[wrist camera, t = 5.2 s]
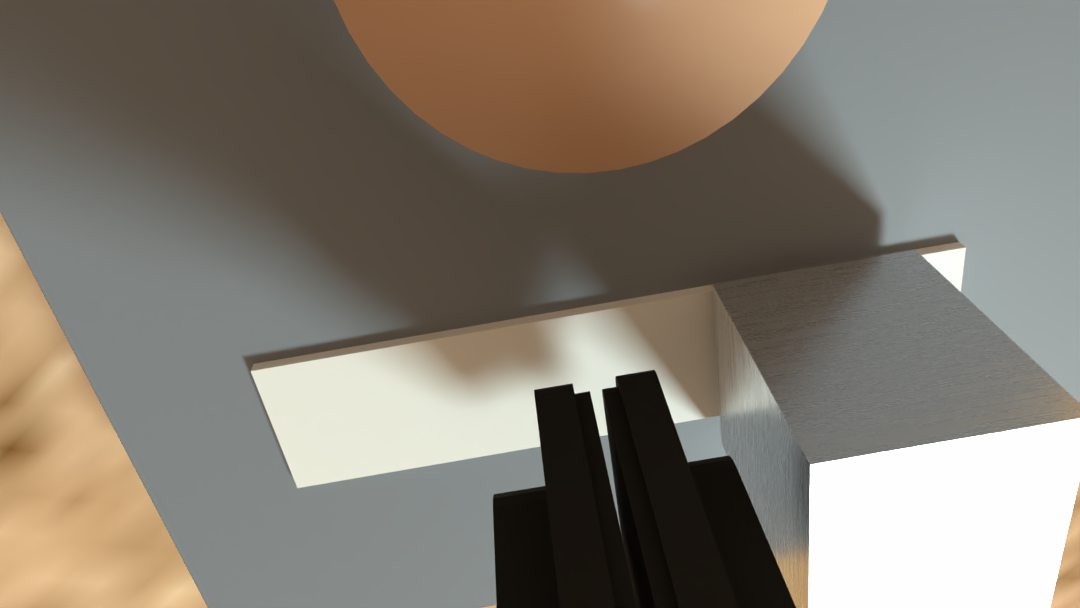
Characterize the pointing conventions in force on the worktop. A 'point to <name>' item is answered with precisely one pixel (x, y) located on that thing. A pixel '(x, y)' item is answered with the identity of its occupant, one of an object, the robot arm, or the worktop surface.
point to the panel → (476, 259)
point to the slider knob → (894, 438)
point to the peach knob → (578, 71)
